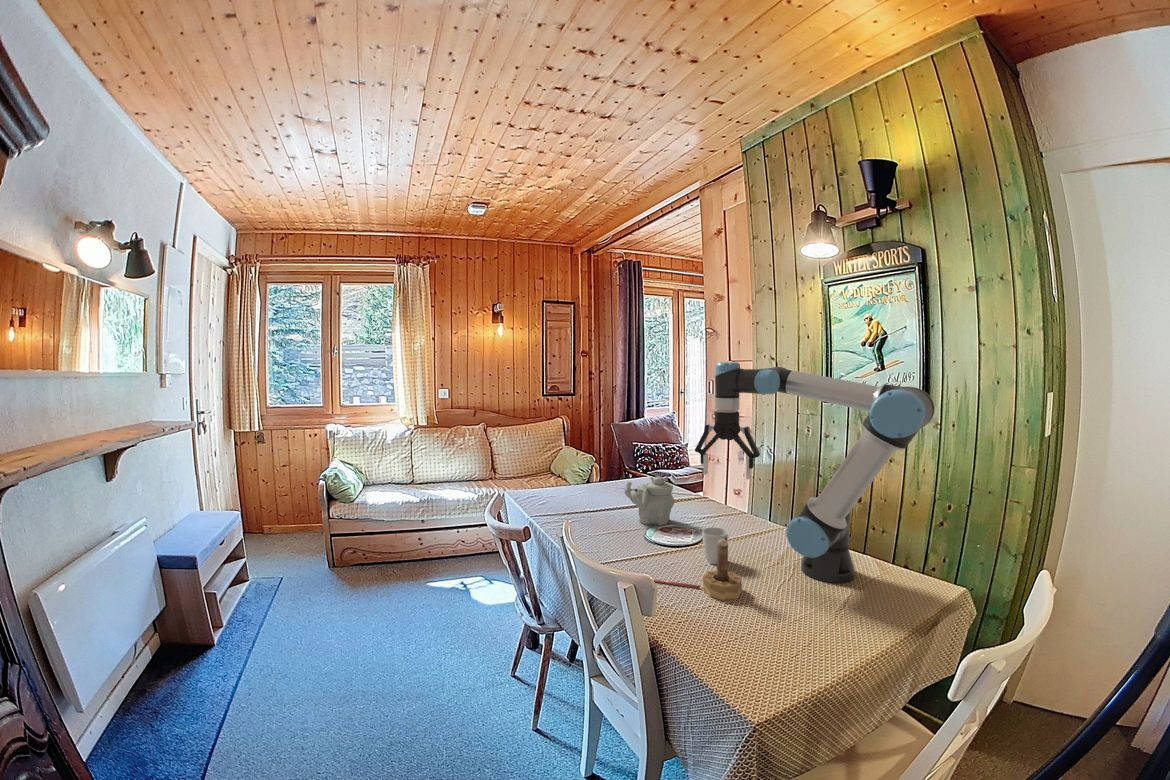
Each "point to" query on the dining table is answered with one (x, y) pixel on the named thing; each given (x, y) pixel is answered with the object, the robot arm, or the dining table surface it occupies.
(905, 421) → the robot arm
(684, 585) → the thin red rod
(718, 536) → the cup
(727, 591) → the wooden ring block
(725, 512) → the dining table surface
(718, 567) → the brown rod
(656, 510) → the teapot
